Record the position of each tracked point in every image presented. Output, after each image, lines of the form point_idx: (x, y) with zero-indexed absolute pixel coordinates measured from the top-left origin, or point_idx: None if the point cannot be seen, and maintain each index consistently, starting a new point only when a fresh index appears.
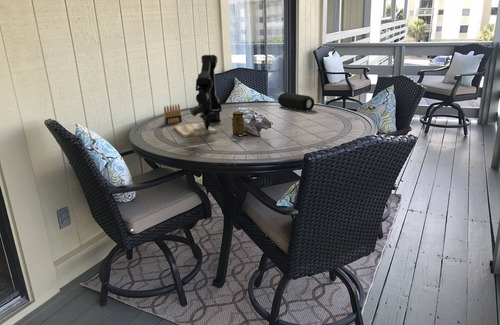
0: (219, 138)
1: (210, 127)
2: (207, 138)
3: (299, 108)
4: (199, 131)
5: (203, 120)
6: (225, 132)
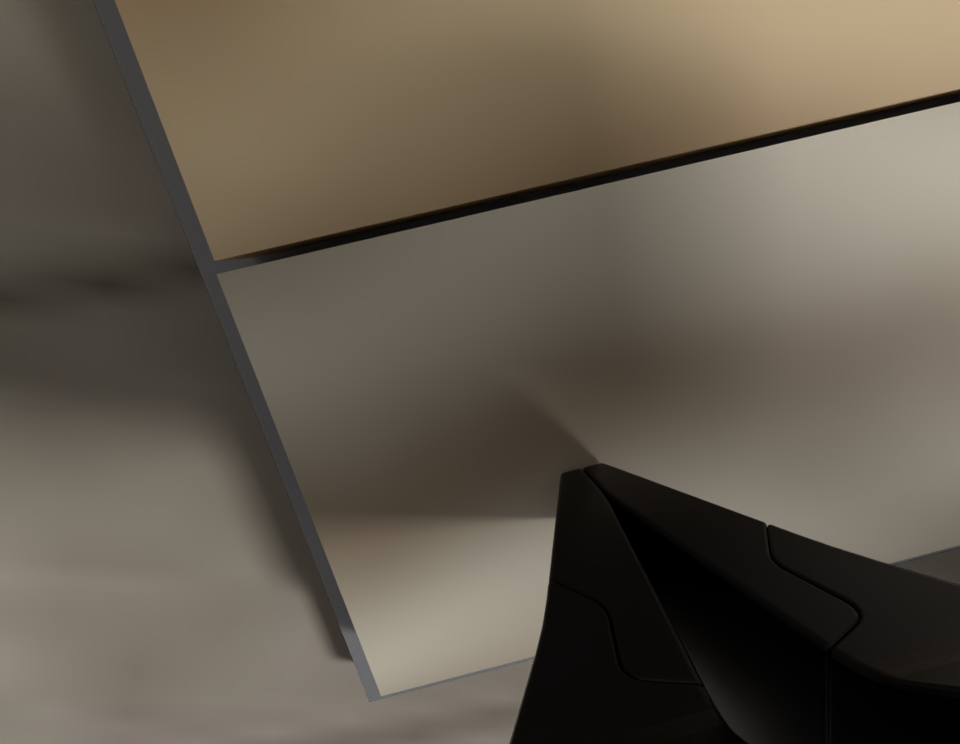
0: (66, 630)
1: None
2: (99, 400)
3: None
4: (357, 242)
5: (833, 609)
6: (490, 739)
